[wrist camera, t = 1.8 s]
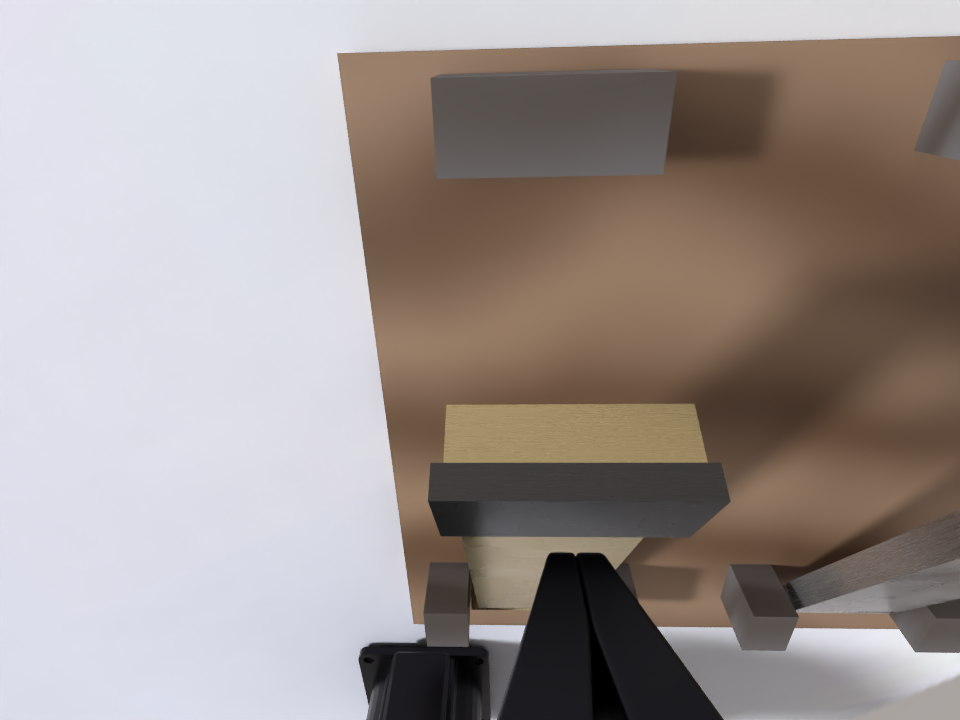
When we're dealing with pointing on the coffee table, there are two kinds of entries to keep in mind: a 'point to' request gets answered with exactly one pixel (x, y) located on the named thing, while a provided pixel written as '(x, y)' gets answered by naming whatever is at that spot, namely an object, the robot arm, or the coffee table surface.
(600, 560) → the robot arm
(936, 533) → the steel strap
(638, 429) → the brass strap
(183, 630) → the coffee table surface
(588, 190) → the board
